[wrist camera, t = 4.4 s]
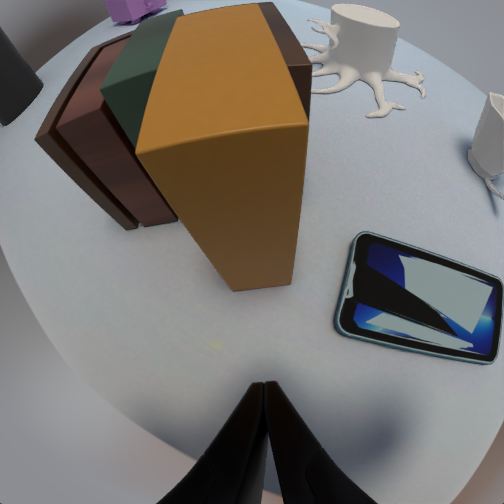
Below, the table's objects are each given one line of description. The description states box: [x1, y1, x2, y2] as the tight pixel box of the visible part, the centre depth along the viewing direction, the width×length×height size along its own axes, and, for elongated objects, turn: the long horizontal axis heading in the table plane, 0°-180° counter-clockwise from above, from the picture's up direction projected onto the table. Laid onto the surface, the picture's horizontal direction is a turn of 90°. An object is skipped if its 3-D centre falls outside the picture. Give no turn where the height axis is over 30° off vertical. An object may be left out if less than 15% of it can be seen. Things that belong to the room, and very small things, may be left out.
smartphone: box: [334, 231, 504, 365], centre depth 16 cm, size 7×1×15 cm
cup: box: [468, 92, 504, 200], centre depth 16 cm, size 7×10×8 cm
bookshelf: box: [34, 2, 312, 230], centre depth 17 cm, size 11×14×13 cm
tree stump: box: [300, 4, 426, 118], centre depth 23 cm, size 20×19×8 cm
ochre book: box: [135, 3, 309, 291], centre depth 14 cm, size 10×4×14 cm, turn 6°
